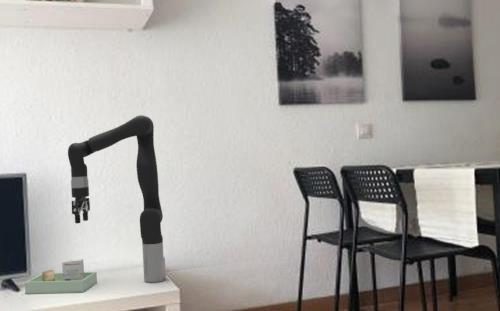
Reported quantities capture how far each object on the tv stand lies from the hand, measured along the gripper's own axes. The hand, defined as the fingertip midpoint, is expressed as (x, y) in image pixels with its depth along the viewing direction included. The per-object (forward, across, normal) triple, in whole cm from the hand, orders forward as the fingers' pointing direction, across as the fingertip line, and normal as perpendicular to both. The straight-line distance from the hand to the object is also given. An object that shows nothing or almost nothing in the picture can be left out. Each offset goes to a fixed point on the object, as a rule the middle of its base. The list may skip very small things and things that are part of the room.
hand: (81, 221), depth 232 cm
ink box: (+28, -8, +1) cm, 29 cm away
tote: (+28, -8, +7) cm, 30 cm away
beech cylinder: (+27, -8, +13) cm, 31 cm away
